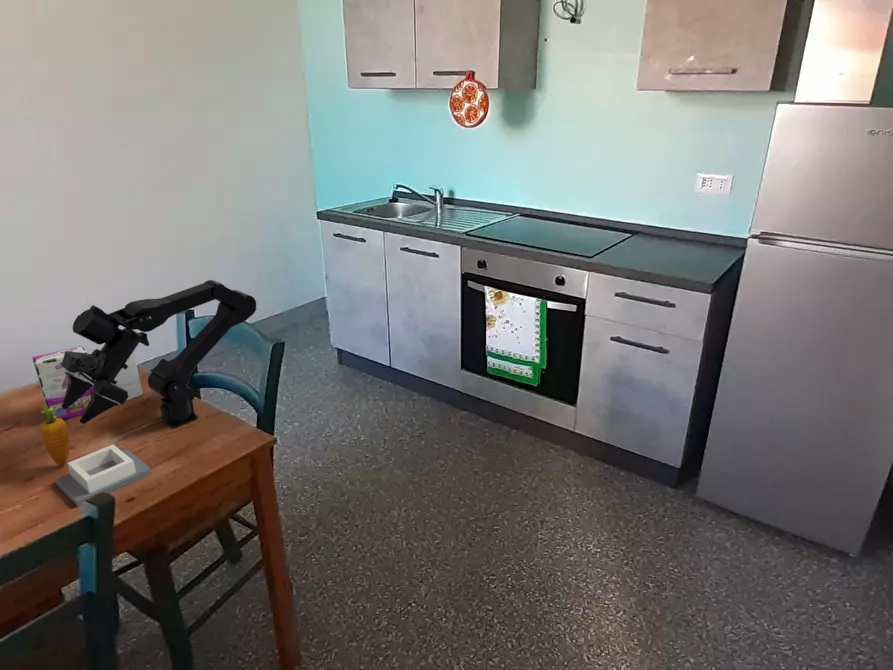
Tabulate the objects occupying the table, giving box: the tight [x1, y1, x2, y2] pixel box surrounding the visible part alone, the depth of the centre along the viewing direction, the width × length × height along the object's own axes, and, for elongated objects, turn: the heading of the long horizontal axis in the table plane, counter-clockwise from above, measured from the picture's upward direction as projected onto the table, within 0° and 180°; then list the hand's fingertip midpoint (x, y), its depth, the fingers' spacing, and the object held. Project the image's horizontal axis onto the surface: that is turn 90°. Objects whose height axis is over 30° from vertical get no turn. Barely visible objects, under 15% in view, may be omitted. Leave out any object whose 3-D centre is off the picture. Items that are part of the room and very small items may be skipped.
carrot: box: [38, 404, 70, 468], centre depth 134 cm, size 5×5×15 cm
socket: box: [54, 444, 153, 507], centre depth 133 cm, size 15×11×4 cm
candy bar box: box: [31, 345, 97, 421], centre depth 155 cm, size 11×5×16 cm, turn 129°
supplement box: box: [114, 351, 143, 403], centre depth 164 cm, size 7×7×13 cm
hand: (72, 415), depth 136 cm, fingers open, 9 cm apart
